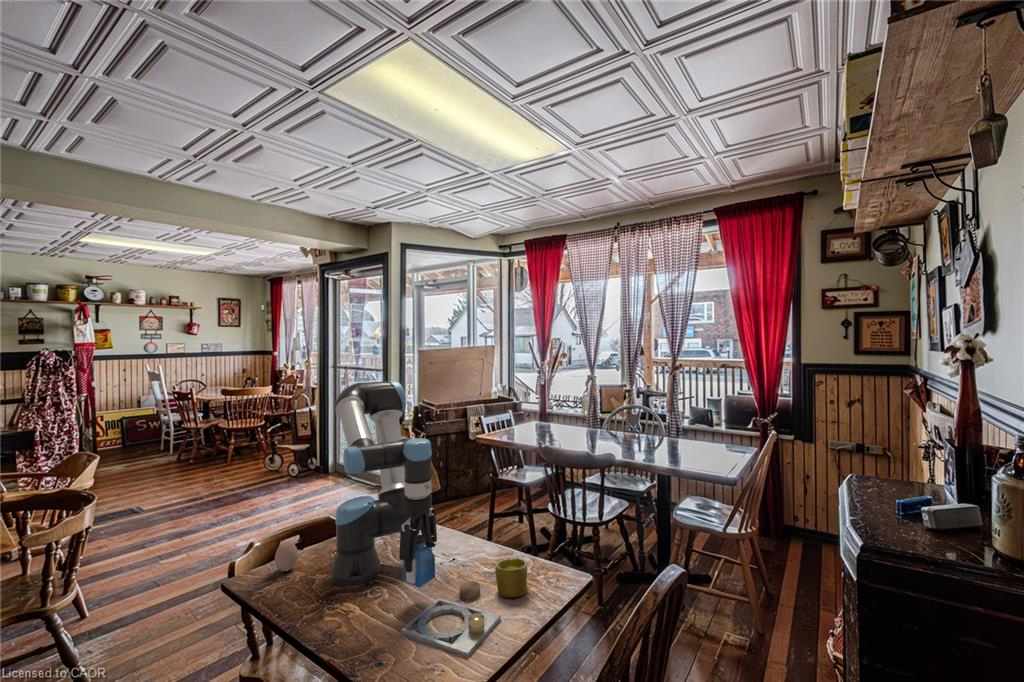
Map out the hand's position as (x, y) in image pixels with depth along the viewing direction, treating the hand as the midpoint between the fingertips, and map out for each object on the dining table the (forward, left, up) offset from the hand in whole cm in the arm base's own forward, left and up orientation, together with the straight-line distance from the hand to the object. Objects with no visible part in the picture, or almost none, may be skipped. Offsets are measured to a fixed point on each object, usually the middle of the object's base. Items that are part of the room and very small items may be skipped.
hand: (419, 575), depth 125 cm
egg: (-52, -3, -8) cm, 53 cm away
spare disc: (+11, +10, -8) cm, 16 cm away
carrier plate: (+15, -5, -8) cm, 17 cm away
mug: (+21, +18, -8) cm, 28 cm away
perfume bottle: (0, 0, -1) cm, 1 cm away
